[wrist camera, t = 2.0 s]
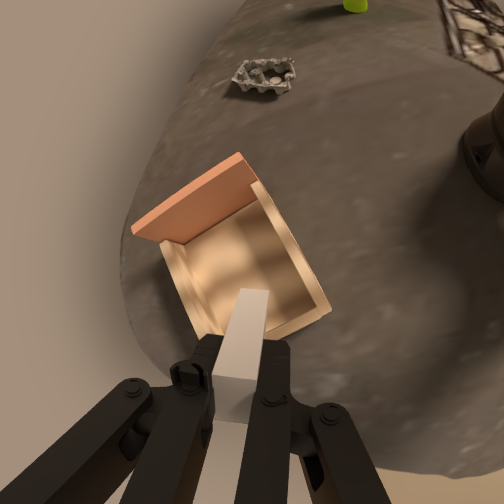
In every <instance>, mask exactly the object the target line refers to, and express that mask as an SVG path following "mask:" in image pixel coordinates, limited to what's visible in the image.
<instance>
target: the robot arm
mask: <svg viewBox="0 0 504 504" xmlns="http://www.w3.org/2000/svg"><path fill="white" fill-rule="evenodd" d="M463 149H464V154H465V158H466V161H467V164H468V166H469V168H470V170H471V172H472V174H473V176H474V177H475V179H476V180H477V182H478V183H479V184H480V185H481V187H482V188H483V189H484V190H485V191H486V192H487V193H488V194H490V195H491V196H492V197H494V198H495V199H497V200H499V201H502V202H504V93H503V95H502V97H501V98H500V100H499V101H498V103H497V104H496V106H495V107H494V109H493V110H492V111H491V112H489V113H487V114H485V115H483V116H481V117H479V118H477V119H476V120H474V121H473V122H472V123H471V124H470V126H469V127H468V129H467V130H466V132H465V135H464V139H463ZM268 297H269V290H258V289H246V288H241V289H240V292H239V295H238V298H237V301H236V304H235V307H234V310H233V313H232V315H231V318H230V321H229V324H228V327H227V330H226V333H225V336H224V335H216V334H209V333H207V334H206V335H205V336H203V337H202V338H201V339H200V340H199V342H198V345H197V347H196V349H195V351H194V355H193V356H192V358H191V360H183V361H179V362H177V363H175V364H173V366H172V367H171V368H170V374H171V379H172V383H173V385H171V386H168V387H150V386H149V384H148V383H147V382H146V381H145V380H143V379H140V378H129V379H125V380H124V381H122V382H120V383H119V384H118V385H117V386H116V387H115V388H114V389H113V390H112V391H111V392H109V393H108V394H107V395H106V396H105V397H104V398H103V399H102V400H101V401H100V402H99V403H98V404H96V405H95V407H93V408H92V409H91V410H90V411H89V412H88V413H87V414H85V415H84V416H83V417H82V418H81V419H80V420H79V421H78V422H77V423H76V424H75V425H73V426H72V427H71V428H70V429H69V430H68V431H67V432H66V433H65V434H64V435H62V437H60V438H59V439H58V440H57V441H56V442H55V443H54V444H53V445H52V446H51V447H49V448H48V449H47V450H46V451H45V452H44V453H43V454H42V455H40V456H39V457H38V458H37V459H36V460H35V461H34V462H33V463H32V464H31V465H30V466H28V467H27V468H26V469H25V470H24V471H23V472H22V473H21V474H20V475H18V476H17V477H16V478H15V479H14V480H13V481H12V482H10V483H9V484H8V485H7V486H6V487H5V488H4V489H3V490H2V491H1V492H0V504H104V503H105V502H106V501H107V500H108V499H109V497H110V496H111V495H112V494H113V493H114V492H115V491H116V489H117V488H118V487H119V486H120V485H121V484H122V482H123V481H124V480H125V479H126V478H127V477H128V475H129V474H130V473H131V472H132V471H133V470H134V471H133V473H132V475H131V478H130V480H129V482H128V484H127V487H126V489H125V491H124V494H123V496H122V498H121V500H120V503H119V504H192V503H193V500H194V496H195V492H196V489H197V485H198V482H199V478H200V474H201V471H202V467H203V463H204V460H205V456H206V453H207V449H208V446H209V442H210V438H211V434H212V431H213V424H212V422H213V418H214V415H215V419H216V420H222V421H229V422H236V423H244V424H248V429H247V435H246V441H245V447H244V452H243V458H242V463H241V469H240V475H239V480H238V485H237V491H236V496H235V501H234V504H287V494H288V479H289V459H290V453H293V454H296V455H298V456H299V459H300V462H301V466H302V469H303V473H304V476H305V480H306V483H307V486H308V490H309V493H310V497H311V500H312V503H313V504H391V501H390V499H389V497H388V495H387V493H386V491H385V488H384V487H383V484H382V482H381V480H380V478H379V476H378V473H377V471H376V469H375V467H374V465H373V463H372V461H371V459H370V456H369V454H368V452H367V450H366V448H365V446H364V444H363V442H362V440H361V438H360V436H359V433H358V431H357V429H356V427H355V425H354V423H353V421H352V419H351V417H350V415H349V413H348V412H347V410H346V409H345V408H344V407H342V406H341V405H339V404H335V403H323V404H320V405H318V406H317V407H315V408H313V407H310V406H307V405H304V404H301V403H299V402H298V401H296V400H295V399H294V398H293V397H292V395H291V393H290V347H289V346H288V344H287V342H286V341H281V340H269V339H265V333H266V322H267V310H268ZM134 468H135V469H134Z"/></svg>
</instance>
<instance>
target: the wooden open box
mask: <svg viewBox="0 0 504 504" xmlns="http://www.w3.org/2000/svg"><path fill="white" fill-rule="evenodd" d="M250 186H251V187H252V189H253V191H254V193H255V194H256V196H257V198H258V200H256V201H255V202H253V203H251V204H250V205H248V206H246V207H245V208H243V209H241V210H240V211H238V212H236V213H235V214H233V215H232V216H230V217H228V218H227V219H225V220H223V221H222V222H220V223H219V224H217V225H215V226H214V227H212V228H211V229H209V230H208V231H206V232H204V233H203V234H201V235H200V236H198V237H197V238H195V239H193V240H192V241H190V242H189V243H187V244H186V245H184V246H183V245H180V244H177V243H174V242H171V241H168V240H165V241H163V242H162V243H160V244H159V245H160V248H161V250H162V253H163V256H164V258H165V261H166V263H167V266H168V268H169V271H170V274H171V276H172V278H173V281H174V283H175V286H176V288H177V291H178V293H179V295H180V298H181V300H182V303H183V305H184V307H185V309H186V312H187V314H188V316H189V319H190V321H191V323H192V325H193V327H194V330H195V332H196V334H197V336H198V338H199V340H200V339H201V338H202V337H203V336H205V335H206V334H207V333H209V334H216V335H224V336H225V333H226V330H227V327H228V324H229V321H230V318H231V315H232V313H233V310H234V307H235V304H236V301H237V298H238V295H239V292H240V289H241V288H246V289H258V290H269V297H268V310H267V322H266V333H265V339H269V340H278V339H280V338H283V337H285V336H287V335H289V334H291V333H293V332H295V331H297V330H299V329H301V328H303V327H305V326H307V325H308V324H310V323H312V322H314V321H316V320H318V319H320V318H321V317H322V316H323V315H325V314H327V313H329V312H331V310H332V307H331V305H330V303H329V301H328V299H327V298H326V296H325V294H324V292H323V290H322V288H321V286H320V284H319V282H318V281H317V279H316V277H315V275H314V273H313V271H312V270H311V268H310V266H309V264H308V262H307V260H306V259H305V257H304V255H303V253H302V251H301V249H300V248H299V246H298V244H297V242H296V241H295V239H294V237H293V235H292V233H291V232H290V230H289V228H288V226H287V225H286V223H285V221H284V219H283V218H282V216H281V214H280V212H279V211H278V209H277V207H276V206H275V204H274V202H273V200H272V199H271V197H270V196H269V194H268V193H267V192H266V190H265V189H264V187H263V186H262V184H261V183H260V182H259V180H258V181H256V182H254V183H253V184H251V185H250Z"/></svg>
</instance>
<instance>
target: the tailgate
mask: <svg viewBox="0 0 504 504" xmlns="http://www.w3.org/2000/svg"><path fill="white" fill-rule="evenodd" d="M258 180H259V179H258V177H257V176H256V175H255V173H254V172H253V170H252V169H251V168H250V166H249V165H248V163H247V162H246V161H245V159H244V158H243V157H242V155H241V154H240V152H237V153H236V154H234V155H232V156H231V157H229V158H228V159H226V160H224V161H223V162H221V163H220V164H218V165H217V166H215V167H214V168H212V169H210V170H209V171H207V172H206V173H204V174H203V175H201V176H200V177H198V178H197V179H195V180H194V181H193V182H191V183H190V184H188V185H187V186H185V187H184V188H182V189H181V190H180V191H178V192H177V193H175V194H174V195H172V196H171V197H170V198H168V199H167V200H166V201H164V202H163V203H161V204H160V205H159V206H157V207H156V208H155V209H153V210H152V211H151V212H149V213H148V214H147V215H145V216H144V217H143V218H141V219H140V220H139V221H137V222H136V223H135V224H134V225H132V226H131V229H132V232H133V235H136V236H139V237H143V238H146V239H149V240H152V241H156V242H159V243H162V242H163V241H165V240H168V241H171V242H174V243H177V244H180V245H183V246H184V245H186V244H187V243H189V242H190V241H192V240H193V239H195V238H197V237H198V236H200V235H201V234H203V233H204V232H206V231H208V230H209V229H211V228H212V227H214V226H215V225H217V224H219V223H220V222H222V221H223V220H225V219H227V218H228V217H230V216H232V215H233V214H235V213H236V212H238V211H240V210H241V209H243V208H245V207H246V206H248V205H250V204H251V203H253V202H255V201H256V200H258V198H257V196H256V194H255V193H254V191H253V189H252V187H251V186H250V185H251V184H253V183H254V182H256V181H258ZM259 182H260V180H259ZM260 183H261V182H260ZM261 184H262V183H261ZM262 186H263V185H262ZM263 187H264V186H263ZM264 189H265V187H264ZM265 190H266V189H265ZM266 192H267V191H266ZM267 193H268V192H267Z"/></svg>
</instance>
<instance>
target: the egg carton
mask: <svg viewBox="0 0 504 504" xmlns="http://www.w3.org/2000/svg"><path fill="white" fill-rule="evenodd" d="M293 64H294V59H292V58H284V57H282V58H278V59H258V60H252V61H251V62H250V61H249V60H245V61H243V65H240V68H239V69H238V70H237V72H236V73H235V76H234V77H233V78H232V79H231V80H233V81H235V82H237V83H238V85H239V86H240V87H241V89H242V91H248V90H249V89H250V88H254V87H255V88H257V89H258V91H259V92H260V93H264V92H265V91H266V90H268V89H274V90H275V91H276V94H280V95H281V94H282V93H283V92H285V91H289V90H290V88H291V85H290V82H289V79H292V78H295V76H296V74H295V71H294V68H293V67H292V66H293ZM254 68H256V69H254ZM253 69H254V70H253ZM269 69H274V70H275V72H277V73H283V72H285V71H286V70H290V71H291V72H288V73H286V74H285V80H286V82H282V83H281V81H282V80H281V78H280V77H273V78H271V79H270V82H267V81H264V80H265V77H264V75H263V72H266V71H268V70H269ZM251 70H252V71H251ZM247 71H250V76H251V78H252V79H249V76H248V74H247ZM263 81H264V82H263ZM261 82H262V85H260V84H258V83H261ZM279 83H281V84H280V85H278V86H275V85H277V84H279ZM256 84H257V85H256Z"/></svg>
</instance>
